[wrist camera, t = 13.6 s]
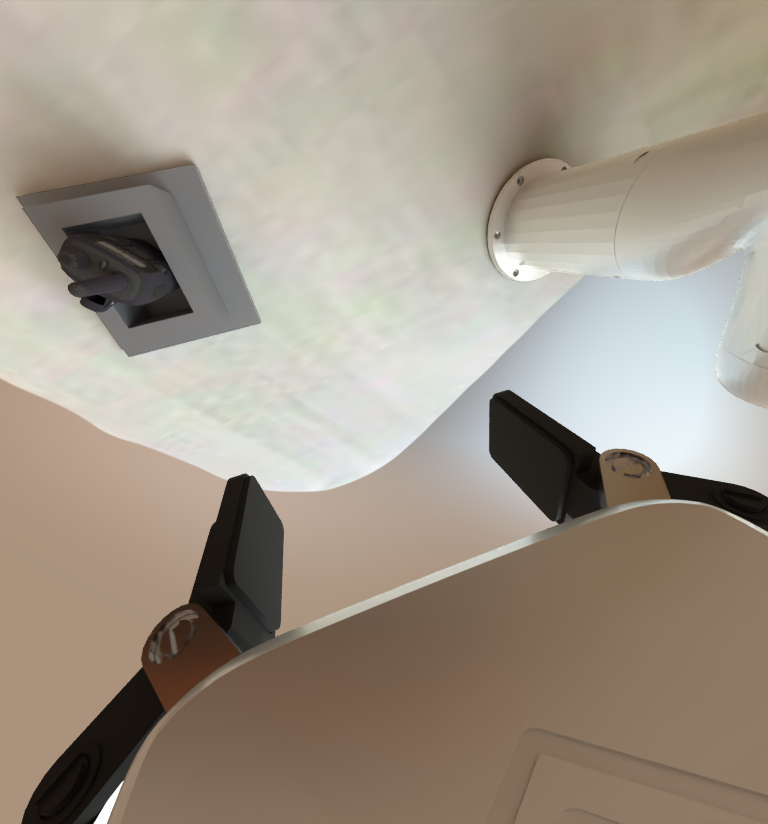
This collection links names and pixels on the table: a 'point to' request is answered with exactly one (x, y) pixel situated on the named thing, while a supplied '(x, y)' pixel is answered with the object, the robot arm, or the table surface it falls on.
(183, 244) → the charging dock
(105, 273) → the two-way radio
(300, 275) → the table surface
